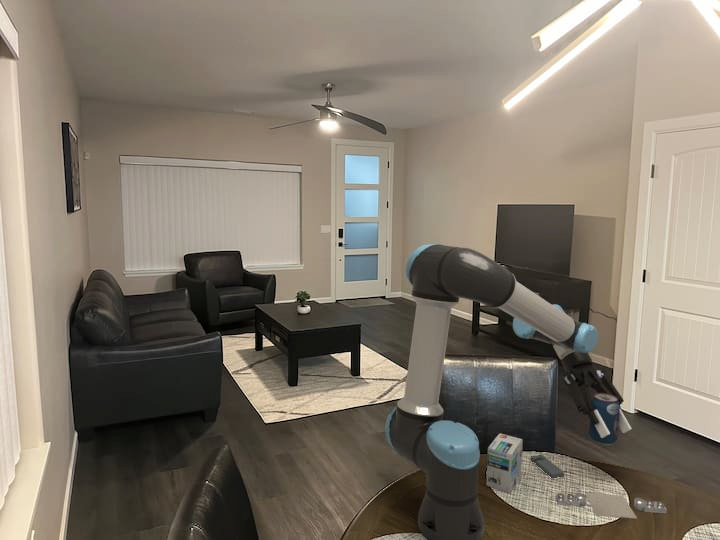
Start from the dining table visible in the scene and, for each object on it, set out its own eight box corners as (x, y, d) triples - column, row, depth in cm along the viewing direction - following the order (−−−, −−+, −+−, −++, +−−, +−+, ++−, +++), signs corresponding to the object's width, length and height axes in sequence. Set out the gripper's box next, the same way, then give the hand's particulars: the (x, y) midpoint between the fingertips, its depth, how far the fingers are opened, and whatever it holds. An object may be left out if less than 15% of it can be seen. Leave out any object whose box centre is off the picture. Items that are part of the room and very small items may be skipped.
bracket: (551, 480, 138) (552, 473, 138) (529, 461, 148) (530, 455, 148) (564, 479, 139) (564, 472, 139) (541, 460, 149) (542, 453, 149)
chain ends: (561, 512, 123) (562, 504, 123) (553, 491, 132) (553, 483, 132) (672, 521, 120) (673, 513, 120) (655, 499, 129) (656, 491, 129)
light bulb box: (510, 494, 131) (512, 454, 130) (485, 486, 135) (486, 447, 133) (521, 475, 140) (523, 438, 139) (497, 468, 144) (499, 432, 142)
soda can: (620, 447, 132) (624, 403, 130) (592, 444, 133) (596, 401, 131) (612, 434, 138) (615, 392, 137) (585, 433, 139) (588, 391, 138)
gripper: (591, 357, 150) (634, 432, 138) (538, 365, 143) (578, 445, 130) (607, 344, 145) (654, 421, 132) (553, 352, 137) (596, 434, 125)
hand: (616, 433), depth 131 cm, fingers closed on soda can, 7 cm apart
